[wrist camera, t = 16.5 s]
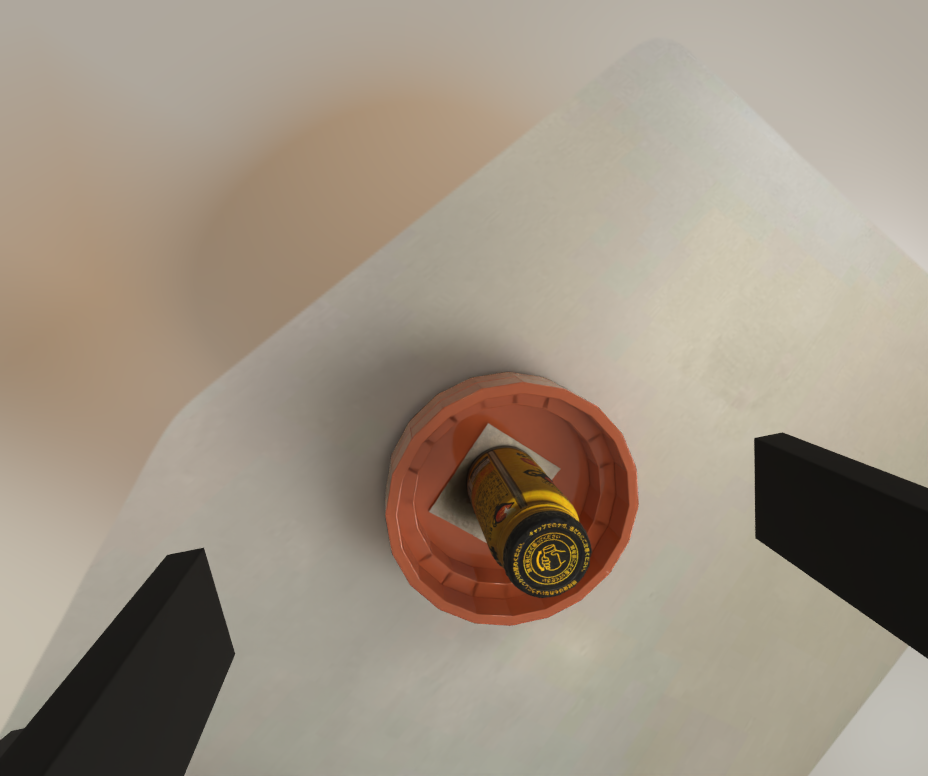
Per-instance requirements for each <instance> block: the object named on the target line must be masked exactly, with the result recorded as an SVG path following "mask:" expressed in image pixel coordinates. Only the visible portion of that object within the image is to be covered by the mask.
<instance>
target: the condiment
mask: <svg viewBox="0 0 928 776" xmlns="http://www.w3.org/2000/svg"><path fill="white" fill-rule="evenodd" d="M559 470H560V468H559V467H557V466H556V465H554V464H552V463H551V462H549V461H548V460H546V459H544V458H543V457H541V456H540V455H538V454H537V453H535V452H533V451H532V450H530V449H529V448H527V447H526V446H524V445H522V444H521V443H519V442H517V441H516V440H514V439H513V438H511V437H509V436H508V435H506V434H504V433H503V432H501V431H500V430H498V429H497V428H495V427H493V426H492V425H490V424H489V423H488V425H487V426H486V428H485V429H484V430H483V432H482V433H481V435H480V436H479V438H478V439H477V440H476V442H475V443H474V445H473V447H472V448H471V449H470V451H469V452H468V454H467V455H466V457H465V458H464V460H463V461H462V463H461V464H460V466H459V467H458V469H457V470H456V472H455V474H454V475H453V477H452V478H451V480H450V481H449V482H448V484H447V485H446V487H445V488H444V490H443V491H442V493H441V494H440V496H439V497H438V499H437V501H436V502H435V504H434V505H433V506H432V508H431V509H430V511H429V512H430V513H432V514H434V515H436V516H438V517H440V518H442V519H444V520H446V521H448V522H449V523H451V524H453V525H455V526H457V527H459V528H461V529H462V530H464V531H466V532H468V533H469V534H472V535H473V536H475V537H477V538H478V539H480V540H482V541H484V542H486V543H487V545H488V547H489V550H490V552H491V555H492V556H493V558H494V559H495V561H496V562H497V563H498V564H499V565H500V566H501V567H502V568H503V569H504V570H505V573H506V575H507V577H509V580H510V581H511V582H512V583H513V585H514V586H515V587H517V588H518V589H519V590H521V591H522V592H524V593H526V594H528V595H530V596H533V597H538V598H547V597H555V596H558V595H561V594H562V593H565V592H566V591H568V590H570V589H571V588H573V587H575V586H576V584H577V583H579V581H580V580H581V579H582V578H583V577H584V574H585V573H586V571H587V570H588V568H589V565H590V557H591V554H592V548H591V543H590V540H589V537H588V535H587V532H586V530H585V529H584V528H583V526H582V524H581V523H580V522H579V518H578V515H577V512H576V510H575V509H574V507H573V505H572V504H571V503H570V501H569V500H568V498H567V497H566V496H564V495H563V493H562V492H561V491H560V490H559V489H558V488H557V486H556V485H555V484H554V483H553V481H552V479H553V478H554V476H555V475H556V474H557V472H558V471H559Z"/></svg>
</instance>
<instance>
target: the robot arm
mask: <svg viewBox="0 0 928 776" xmlns="http://www.w3.org/2000/svg"><path fill="white" fill-rule="evenodd" d="M754 451H755V536H756V539H758V540H759V541H760V542H762V543H763V544H765V545H766V546H768V547H769V548H770V549H772V550H773V551H775V552H776V553H778V554H779V555H780V556H782V557H783V558H785V559H786V560H788V561H789V562H790V563H792V564H793V565H795V566H796V567H798V568H799V569H800V570H802V571H803V572H805V573H806V574H808V575H809V576H810V577H812V578H813V579H815V580H816V581H818V582H819V583H820V584H822V585H823V586H825V587H826V588H828V589H829V590H830V591H832V592H833V593H835V594H836V595H838V596H839V597H840V598H842V599H843V600H845V601H846V602H848V603H849V604H850V605H852V606H853V607H855V608H856V609H858V610H859V611H860V612H862V613H863V614H865V615H866V616H868V617H869V618H870V619H872V620H873V621H875V622H876V623H878V624H879V625H880V626H882V627H883V628H885V629H886V630H888V631H889V632H890V633H892V634H893V635H895V636H896V637H898V638H899V639H900V640H902V641H903V642H905V643H906V644H908V645H909V646H911V647H912V648H913V649H915V650H916V651H918V652H919V653H920V654H922V655H923V656H925V657H926V658H928V488H926V487H924V486H921V485H918V484H916V483H913V482H911V481H908V480H905V479H903V478H900V477H898V476H895V475H892V474H890V473H887V472H884V471H882V470H879V469H877V468H874V467H871V466H869V465H866V464H864V463H861V462H858V461H856V460H853V459H850V458H848V457H845V456H843V455H840V454H837V453H835V452H832V451H830V450H827V449H824V448H822V447H819V446H816V445H814V444H811V443H809V442H806V441H803V440H801V439H798V438H796V437H793V436H790V435H788V434H785V433H778V434H773V435H768V436H763V437H758V438H754ZM234 656H235V652H234V648H233V645H232V642H231V638H230V635H229V631H228V628H227V625H226V621H225V618H224V615H223V611H222V608H221V604H220V601H219V598H218V594H217V591H216V587H215V584H214V581H213V577H212V574H211V570H210V567H209V564H208V560H207V557H206V554H205V550H204V548H200V549H195V550H190V551H185V552H180V553H175V554H170V555H167V556H166V557H165V558H164V560H163V561H162V562H161V563H160V564H159V566H158V567H157V568H156V569H155V570H154V572H153V573H152V574H151V575H150V577H149V578H148V579H147V580H146V581H145V583H144V584H143V585H142V586H141V587H140V589H139V590H138V591H137V592H136V594H135V595H134V596H133V597H132V598H131V600H130V601H129V602H128V603H127V604H126V606H125V607H124V608H123V609H122V611H121V612H120V613H119V614H118V615H117V617H116V618H115V619H114V620H113V621H112V623H111V624H110V625H109V626H108V628H107V629H106V630H105V631H104V632H103V634H102V635H101V636H100V637H99V638H98V640H97V641H96V642H95V643H94V645H93V646H92V647H91V648H90V649H89V651H88V652H87V653H86V654H85V655H84V657H83V658H82V659H81V660H80V662H79V663H78V664H77V665H76V666H75V668H74V669H73V670H72V671H71V672H70V674H69V675H68V676H67V677H66V679H65V680H64V681H63V682H62V683H61V685H60V686H59V687H58V688H57V689H56V691H55V692H54V693H53V694H52V696H51V697H50V698H49V699H48V700H47V702H46V703H45V704H44V705H43V706H42V708H41V709H40V710H39V711H38V713H37V714H36V715H35V716H34V717H33V719H32V720H31V721H30V722H29V723H28V725H27V726H26V727H25V728H23V729H19V730H14V731H11V732H10V733H9V734H7V735H6V736H5V737H4V738H3V739H1V740H0V776H184V774H185V772H186V770H187V767H188V765H189V763H190V760H191V758H192V755H193V753H194V751H195V748H196V746H197V744H198V741H199V739H200V736H201V734H202V732H203V729H204V727H205V725H206V722H207V720H208V717H209V715H210V713H211V710H212V708H213V706H214V703H215V701H216V698H217V696H218V694H219V691H220V689H221V687H222V684H223V682H224V679H225V677H226V675H227V672H228V670H229V667H230V665H231V663H232V660H233V658H234Z"/></svg>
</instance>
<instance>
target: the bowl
mask: <svg viewBox="0 0 928 776" xmlns="http://www.w3.org/2000/svg"><path fill="white" fill-rule="evenodd" d="M488 423H489V424H490V425H492V426H493V427H495V428H497V429H498V430H500V431H501V432H503V433H504V434H506V435H508V436H509V437H511V438H513V439H514V440H516V441H517V442H519V443H521V444H522V445H524V446H526V447H527V448H529V449H530V450H532V451H533V452H535V453H537V454H538V455H540V456H541V457H543V458H544V459H546V460H548V461H549V462H551V463H552V464H554V465H556V466H557V467H559V468H560V470H559V471H558V472H557V474H556V475H555V476H554V478H553V479H552V481H553V483H554V484H555V485H556V486H557V488H558V489H559V490H560V491H561V492H562V493H563V495H564V496H566V497H567V498H568V500H569V501H570V503H571V504H572V505H573V507H574V509H575V510H576V512H577V515H578V518H579V522H580V523H581V524H582V526H583V528H584V529H585V530H586V532H587V535H588V537H589V540H590V543H591V548H592V554H591V557H590V565H589V568H588V570H587V571H586V573H585V574H584V577H583V578H582V579H581V580H580V581H579V583H577V584H576V586H575V587H573V588H571V589H570V590H568V591H566V592H565V593H562V594H561V595H558V596H555V597H547V598H538V597H533V596H530V595H528V594H526V593H524V592H522V591H521V590H519V589H518V588H517V587H515V586H514V585H513V583H512V582H511V581H510V580H509V577H507V575H506V573H505V570H504V569H503V568H502V567H501V566H500V565H499V564H498V563H497V562H496V561H495V559H494V558H493V556H492V555H491V552H490V550H489V547H488V545H487V543H486V542H484V541H482V540H480V539H478V538H477V537H475V536H473V535H472V534H469V533H468V532H466V531H464V530H462V529H461V528H459V527H457V526H455V525H453V524H451V523H449V522H448V521H446V520H444V519H442V518H440V517H438V516H436V515H434V514H432V513H430V512H429V511H430V509H431V508H432V506H433V505H434V504H435V502H436V501H437V499H438V497H439V496H440V494H441V493H442V491H443V490H444V488H445V487H446V485H447V484H448V482H449V481H450V480H451V478H452V477H453V475H454V474H455V472H456V470H457V469H458V467H459V466H460V464H461V463H462V461H463V460H464V458H465V457H466V455H467V454H468V452H469V451H470V449H471V448H472V447H473V445H474V443H475V442H476V440H477V439H478V438H479V436H480V435H481V433H482V432H483V430H484V429H485V428H486V426H487V425H488ZM638 505H639V501H638V483H637V469H636V466H635V463H634V461H633V458H632V456H631V453H630V451H629V448H628V446H627V444H626V441H625V439H624V436H623V434H622V433H621V432H620V431H619V430H618V428H617V427H616V426H615V425H614V424H613V423H612V422H611V421H610V420H609V418H608V417H607V416H606V415H605V414H604V413H603V412H602V411H601V409H600V408H599V407H597V406H596V405H594V404H592V403H591V402H589V401H587V400H585V399H583V398H582V397H580V396H578V395H576V394H575V393H573V392H571V391H569V390H567V389H565V388H563V387H562V386H560V385H558V384H556V383H554V382H552V381H550V380H549V379H547V378H544V377H538V376H532V375H526V374H520V373H514V372H504V373H497V374H491V375H484V376H478V377H472V378H469V379H467V380H465V381H463V382H461V383H459V384H457V385H455V386H453V387H451V388H449V389H447V390H445V391H443V392H441V393H439V394H437V395H436V396H435V397H434V398H433V399H432V400H431V401H430V402H429V403H428V404H427V405H426V406H425V407H424V408H423V409H422V410H421V411H420V412H418V413H417V414H416V415H415V416H414V417H413V418H412V419H411V420H410V421H409V423H408V425H407V427H406V428H405V430H404V432H403V434H402V436H401V438H400V440H399V442H398V443H397V445H396V447H395V449H394V451H393V453H392V455H391V460H390V466H389V472H388V478H387V484H386V494H385V517H386V523H387V528H388V534H389V540H390V545H391V551H392V554H393V556H394V558H395V560H396V561H397V563H398V565H399V567H400V568H401V570H402V572H403V573H404V575H405V577H406V579H407V580H408V582H409V584H410V585H411V586H412V587H413V588H414V589H415V590H417V591H418V592H419V593H420V594H421V595H423V596H424V597H425V598H426V599H427V600H429V601H430V602H431V603H432V604H433V605H434V606H436V607H437V608H438V609H440V610H442V611H444V612H447V613H450V614H452V615H455V616H457V617H460V618H462V619H465V620H467V621H470V622H474V623H478V624H493V625H508V626H511V625H517V624H521V623H526V622H530V621H535V620H539V619H544V618H548V617H550V616H552V615H554V614H556V613H558V612H560V611H562V610H564V609H566V608H567V607H569V606H571V605H573V604H575V603H577V602H579V601H581V600H582V599H583V598H584V597H585V596H586V595H587V594H588V593H589V592H591V591H592V590H593V589H594V588H595V587H596V586H597V585H598V584H599V583H600V582H601V581H602V580H603V579H604V578H605V577H606V576H608V575H609V573H610V572H611V571H612V569H613V567H614V566H615V564H616V562H617V561H618V559H619V557H620V556H621V554H622V552H623V551H624V549H625V548H626V546H627V544H628V543H629V540H630V537H631V533H632V529H633V525H634V521H635V518H636V514H637V510H638Z"/></svg>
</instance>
